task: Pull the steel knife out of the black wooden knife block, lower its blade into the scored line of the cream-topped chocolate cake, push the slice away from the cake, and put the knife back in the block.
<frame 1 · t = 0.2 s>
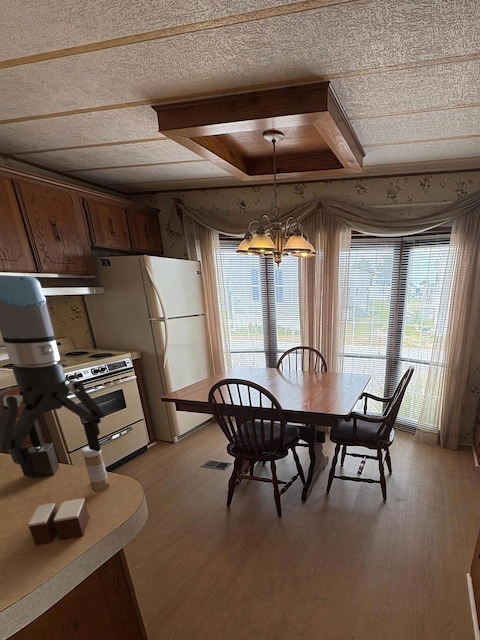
hand: (65, 462, 74), 21 cm above the table, tool pointing down, fingers open, 13 cm apart
knife: (39, 448, 103), in the knife block
sprinkles bottle: (101, 488, 102), on the table
cake: (75, 528, 85), on the table
knife block: (48, 476, 107), on the table
cake slice: (48, 533, 83), on the table
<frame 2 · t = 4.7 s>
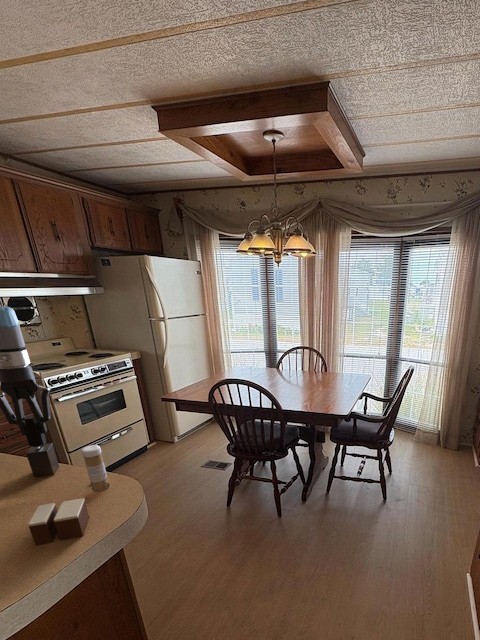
hand: (38, 443, 103), 11 cm above the table, tool pointing down, fingers closed on knife, 2 cm apart
knife: (39, 448, 103), in the knife block, touching gripper
everything else where it was.
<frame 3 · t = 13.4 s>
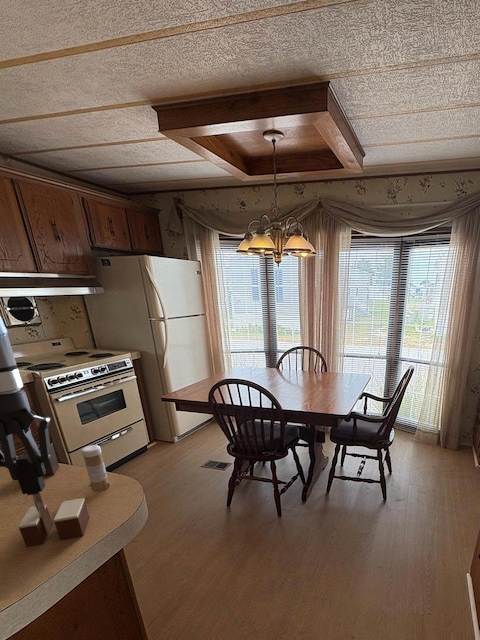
hand: (34, 489, 78), 12 cm above the table, tool pointing down, fingers closed on knife, 2 cm apart
knife: (36, 495, 79), point 11 cm above the table, touching cake slice, gripper
cake slice: (40, 535, 83), on the table, touching knife
everything else where it was.
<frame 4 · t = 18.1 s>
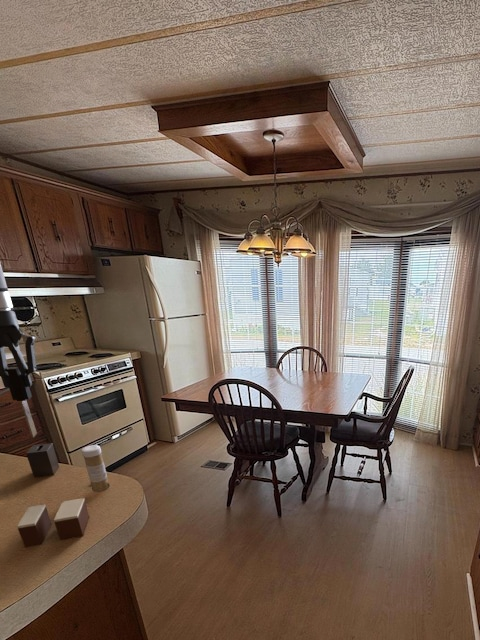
hand: (22, 398, 96), 26 cm above the table, tool pointing down, fingers closed on knife, 2 cm apart
knife: (24, 403, 96), point 25 cm above the table, touching gripper
cake slice: (39, 535, 83), on the table
everything else where it was.
when the fingers open (11 cm above the table, at t = 21.5 s): knife stays where it is, resting in knife block.
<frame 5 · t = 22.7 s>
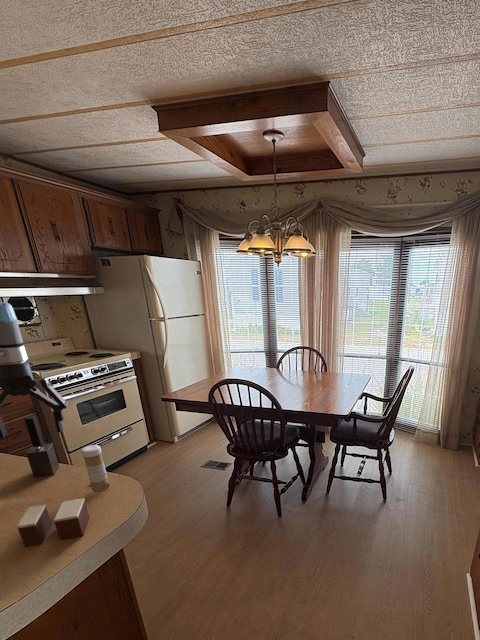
hand: (32, 433, 101), 15 cm above the table, tool pointing down, fingers open, 13 cm apart
knife: (39, 448, 103), in the knife block
everything else where it was.
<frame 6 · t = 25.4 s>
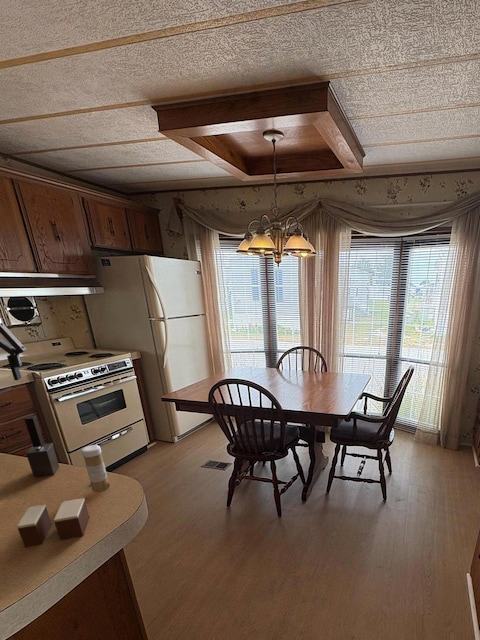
nothing on the table moved.
at the end: cake slice 0.2 cm from the target spot on the table beside the cake, on the table; cake slice tilted 0°; knife 0.1 cm off-centre on the knife block, point 10.0 cm above the knife block's base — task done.
